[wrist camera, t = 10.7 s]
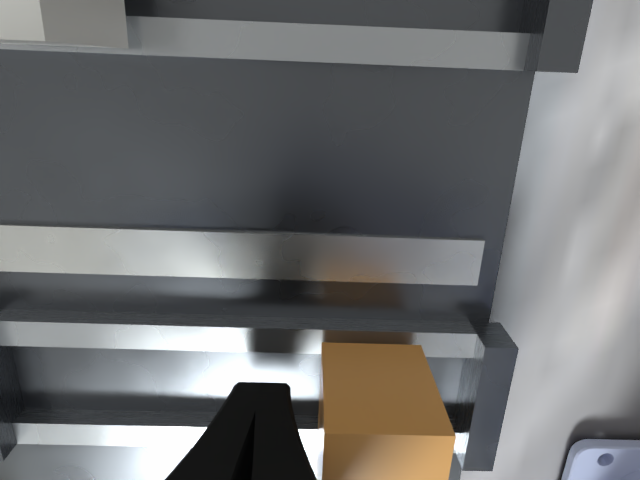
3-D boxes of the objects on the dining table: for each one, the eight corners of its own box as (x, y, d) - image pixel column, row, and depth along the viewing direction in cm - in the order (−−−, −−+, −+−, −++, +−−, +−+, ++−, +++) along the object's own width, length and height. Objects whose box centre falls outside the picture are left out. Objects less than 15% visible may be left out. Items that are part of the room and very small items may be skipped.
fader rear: (413, 324, 12) (455, 435, 9) (399, 434, 14) (432, 573, 10) (321, 322, 12) (324, 433, 9) (316, 432, 14) (317, 571, 10)
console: (585, -303, 9) (687, -441, 7) (449, 477, 16) (474, 553, 14) (-162, -349, 9) (-351, -513, 6) (25, 468, 16) (-30, 545, 13)
